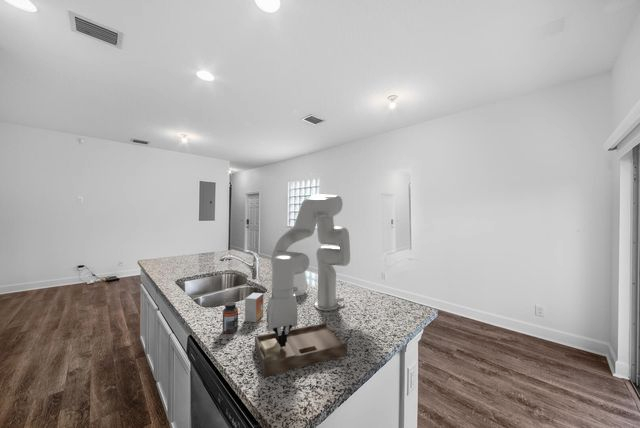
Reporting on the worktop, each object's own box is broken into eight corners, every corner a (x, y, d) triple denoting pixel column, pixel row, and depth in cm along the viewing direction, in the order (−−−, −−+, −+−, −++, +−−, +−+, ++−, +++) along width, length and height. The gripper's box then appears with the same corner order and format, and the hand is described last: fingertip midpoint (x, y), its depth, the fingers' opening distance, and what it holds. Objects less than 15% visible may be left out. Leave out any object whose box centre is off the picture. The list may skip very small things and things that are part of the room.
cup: (282, 290, 152) (283, 268, 151) (303, 288, 157) (303, 266, 157) (289, 298, 139) (289, 273, 139) (311, 295, 145) (311, 271, 144)
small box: (255, 322, 109) (256, 299, 109) (244, 321, 110) (244, 298, 110) (263, 315, 117) (263, 293, 117) (252, 314, 118) (253, 292, 118)
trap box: (325, 332, 102) (325, 322, 101) (347, 355, 86) (347, 344, 86) (254, 347, 90) (254, 336, 90) (264, 377, 74) (264, 363, 74)
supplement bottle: (225, 327, 104) (225, 300, 104) (239, 326, 105) (239, 300, 105) (220, 334, 99) (220, 306, 98) (235, 333, 99) (236, 306, 99)
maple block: (274, 346, 86) (274, 338, 86) (279, 354, 82) (280, 345, 82) (260, 350, 83) (260, 341, 83) (265, 358, 79) (265, 349, 79)
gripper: (299, 286, 91) (298, 335, 91) (258, 291, 85) (258, 343, 85) (306, 292, 84) (306, 345, 85) (263, 298, 78) (262, 355, 78)
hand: (282, 344), depth 85 cm, fingers closed
